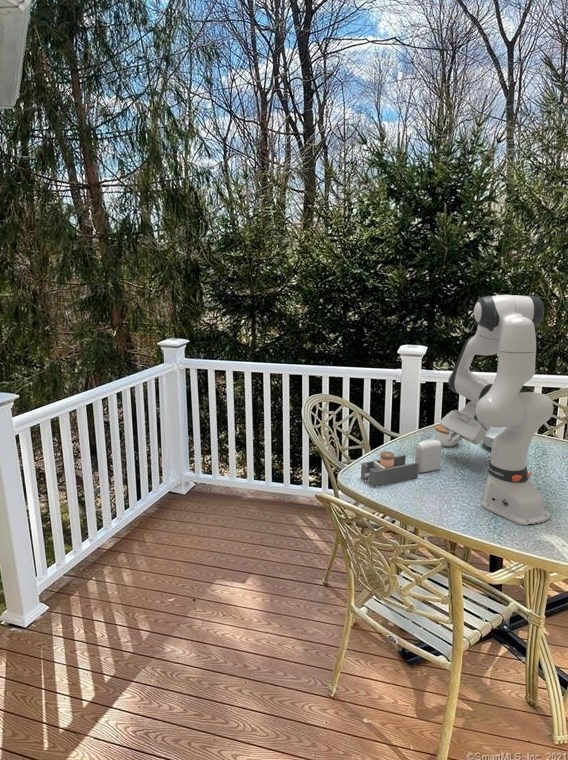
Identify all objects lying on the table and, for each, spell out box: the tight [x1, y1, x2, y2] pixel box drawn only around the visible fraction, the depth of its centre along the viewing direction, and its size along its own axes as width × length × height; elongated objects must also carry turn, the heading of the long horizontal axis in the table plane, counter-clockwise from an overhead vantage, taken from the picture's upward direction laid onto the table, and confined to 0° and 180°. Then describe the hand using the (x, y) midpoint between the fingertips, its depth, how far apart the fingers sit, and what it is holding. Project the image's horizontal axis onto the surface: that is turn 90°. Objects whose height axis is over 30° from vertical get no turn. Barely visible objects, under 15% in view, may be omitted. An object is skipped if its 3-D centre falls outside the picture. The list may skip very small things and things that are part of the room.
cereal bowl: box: [481, 427, 506, 449], centre depth 230 cm, size 17×17×7 cm
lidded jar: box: [434, 423, 458, 448], centre depth 234 cm, size 11×11×9 cm
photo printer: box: [414, 439, 442, 474], centre depth 208 cm, size 10×4×12 cm, turn 109°
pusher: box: [365, 461, 386, 478], centre depth 199 cm, size 6×6×6 cm
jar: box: [379, 450, 396, 469], centre depth 200 cm, size 5×5×10 cm
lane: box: [360, 454, 419, 488], centre depth 202 cm, size 9×20×6 cm, turn 114°
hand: (449, 443), depth 212 cm, fingers closed
